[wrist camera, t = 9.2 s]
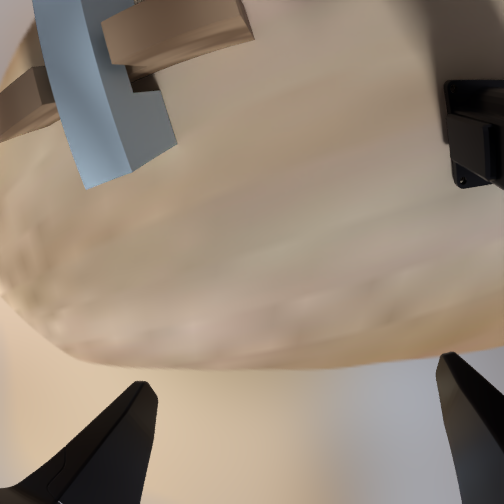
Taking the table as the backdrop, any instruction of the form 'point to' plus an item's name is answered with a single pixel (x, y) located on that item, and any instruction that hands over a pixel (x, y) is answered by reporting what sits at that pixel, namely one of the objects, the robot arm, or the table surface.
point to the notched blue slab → (98, 92)
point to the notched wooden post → (133, 52)
